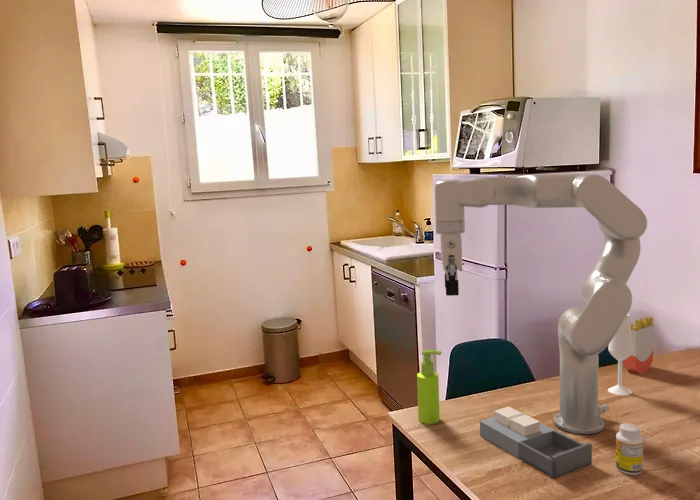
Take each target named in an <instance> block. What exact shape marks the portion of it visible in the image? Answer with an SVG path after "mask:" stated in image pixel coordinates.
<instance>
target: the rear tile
mask: <svg viewBox="0 0 700 500" xmlns="http://www.w3.org/2000/svg"><path fill="white" fill-rule="evenodd" d="M522 414H523V413H522V412H521V411H519V410H516V409H515V408H512V407H511V406H506V407H502V408H499V409H496V410H493V417H494V420H495V421H497V422H499V423H501V424H503V425H505V426H506V427H510V419H512V418H516V417H519V416H522Z"/></svg>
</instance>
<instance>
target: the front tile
mask: <svg viewBox="0 0 700 500" xmlns="http://www.w3.org/2000/svg"><path fill="white" fill-rule="evenodd" d="M540 423H541V421H540V420H537V419H535V418H533V417H531V416H529V415H527V414H523V415H522V416H519V417H516V418H512V419H510V429H512V430H514V431H516V432H518V433H520V434H522V435H523V436H527V435H530V434H533V433H536V432H539V431H540Z"/></svg>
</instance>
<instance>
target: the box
mask: <svg viewBox="0 0 700 500" xmlns="http://www.w3.org/2000/svg"><path fill="white" fill-rule="evenodd" d="M592 450H593V444H592V443H591V442H586V443H585V444H584V443H582V442H580V441H578V440H576V439H574V438H572V437H570V436H568V435H566V434H564V433H563V432H559V431H558V430H556V429H554V431H553V444H551V445H548V446H545V447H542V448H539V449H534V448H532V447H530V446H528V445H526V444H525V443H523V442H518V452H519V458H518V459H519V460H521V461H522V462H525V463H526V464H528V465H530V467H531V466H532V467H533V468H534V469H536V470H537V471H540V472H541V473H543V474H545V475H547V476H548V477H550V478H552V479H553V480H554V479H557V478H560V477H562V476H565V475H567V474H570V473H573V472H575V471H578V470H581V469H583V468H585V467H588V466H591V465H593V464H592V463H593V462H592V461H593V459H592V458H593V457H592V454H593V452H592Z"/></svg>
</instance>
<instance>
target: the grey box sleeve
mask: <svg viewBox="0 0 700 500" xmlns="http://www.w3.org/2000/svg"><path fill="white" fill-rule="evenodd" d="M522 415H524V414H523V413H522ZM554 430H555V429H553V428H551V427H549V426H547V425H545V424H543V423H541V422H540V431H539V432H536V433H533V434H530V435H527V436H523V435H522V434H520V433H518V432H516V431H514V430H512V429H510V427H506V426H505V425H503V424H501V423H499V422H497V421H495V420H494V416H492V417H489V418H485V419H483V420H482V419H481V420H479V436H480V437H481V438H483V439H485V440H487V441H489V442H490V443H492V444H493V445H495V446H497V447H499V448H501V449H502V450H504V451H506V452H507V453H509V454H510V455H513V456H514V457H516V458H518V459H519V452H518V442H523V443H525V444H526V445H528V446H530V447H532V448H534V449H539V448H542V447H545V446H548V445H551V444H553V431H554Z"/></svg>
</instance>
